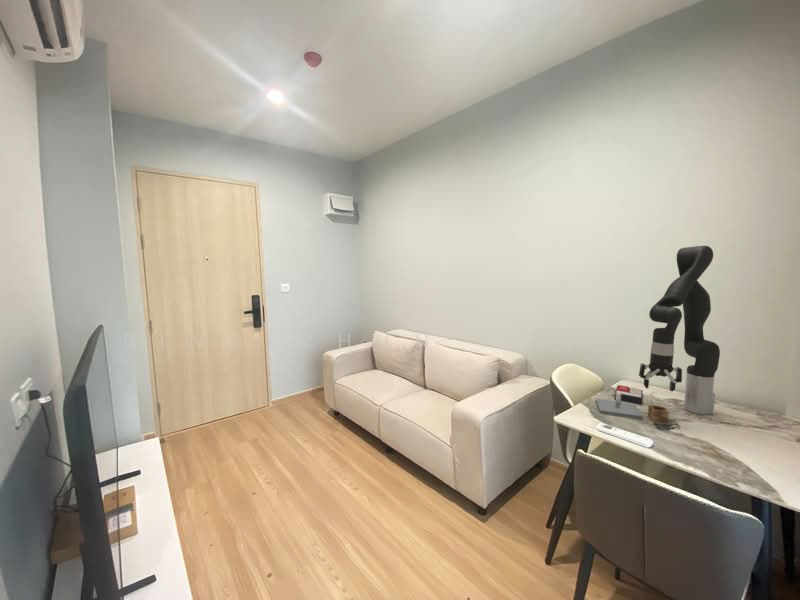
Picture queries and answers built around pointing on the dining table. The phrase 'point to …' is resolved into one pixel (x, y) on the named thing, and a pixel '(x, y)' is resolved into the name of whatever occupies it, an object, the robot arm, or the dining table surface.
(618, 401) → the post
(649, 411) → the brown boxy piece
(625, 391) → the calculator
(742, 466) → the dining table surface
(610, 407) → the board
